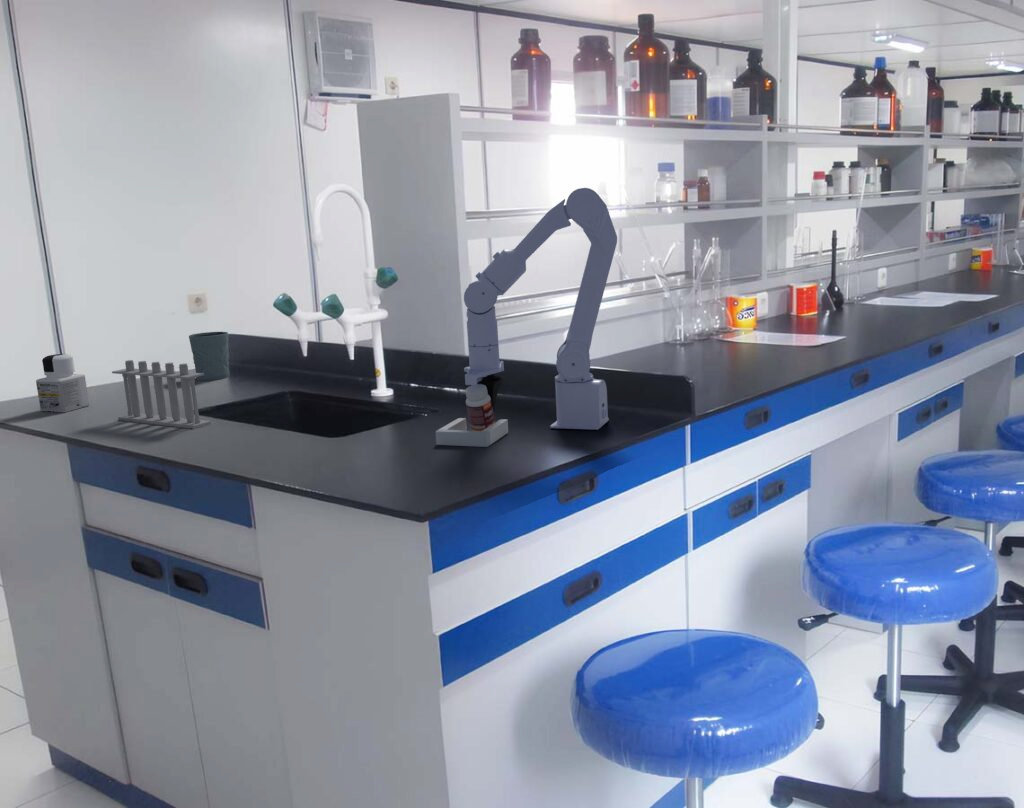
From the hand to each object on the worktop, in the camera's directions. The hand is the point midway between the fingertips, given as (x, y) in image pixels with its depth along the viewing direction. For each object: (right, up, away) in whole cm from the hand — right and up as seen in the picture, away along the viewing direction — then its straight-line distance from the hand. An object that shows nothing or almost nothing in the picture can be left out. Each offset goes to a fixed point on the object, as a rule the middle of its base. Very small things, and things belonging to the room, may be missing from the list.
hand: (487, 414), depth 181 cm
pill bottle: (-1, -3, -1) cm, 3 cm away
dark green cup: (-77, +9, +77) cm, 109 cm away
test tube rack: (-71, -2, +23) cm, 74 cm away
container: (-102, +1, +44) cm, 111 cm away
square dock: (-2, -4, -6) cm, 8 cm away
